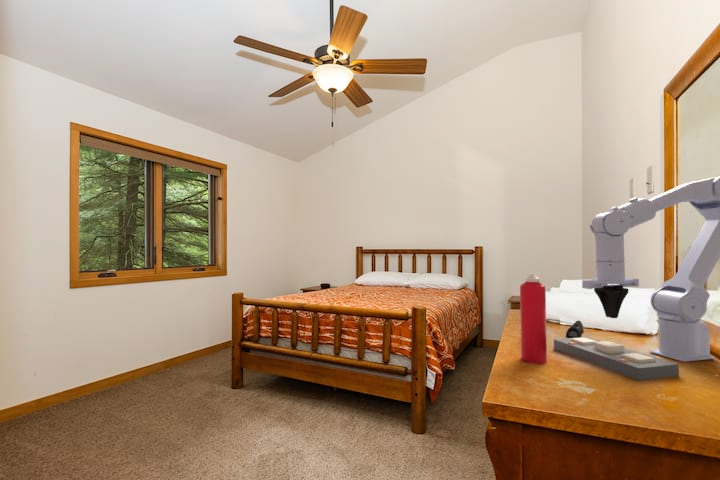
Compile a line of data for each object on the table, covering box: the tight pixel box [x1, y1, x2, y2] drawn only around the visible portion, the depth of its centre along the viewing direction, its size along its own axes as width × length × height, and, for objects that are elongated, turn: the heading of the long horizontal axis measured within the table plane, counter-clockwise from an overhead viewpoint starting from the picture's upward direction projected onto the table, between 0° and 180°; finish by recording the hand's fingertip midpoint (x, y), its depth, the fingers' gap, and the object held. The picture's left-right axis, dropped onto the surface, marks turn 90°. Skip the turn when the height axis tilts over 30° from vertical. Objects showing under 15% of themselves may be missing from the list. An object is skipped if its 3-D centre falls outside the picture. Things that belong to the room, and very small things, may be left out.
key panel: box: [553, 336, 680, 382], centre depth 85 cm, size 10×23×3 cm, turn 12°
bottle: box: [519, 274, 548, 365], centre depth 86 cm, size 6×5×20 cm
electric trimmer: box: [565, 320, 584, 338], centre depth 112 cm, size 4×16×3 cm, turn 143°
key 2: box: [621, 353, 655, 364], centre depth 78 cm, size 4×4×3 cm
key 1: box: [571, 336, 599, 346], centre depth 92 cm, size 4×4×3 cm
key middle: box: [594, 340, 625, 354], centre depth 85 cm, size 4×4×3 cm
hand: (611, 317), depth 89 cm, fingers closed
